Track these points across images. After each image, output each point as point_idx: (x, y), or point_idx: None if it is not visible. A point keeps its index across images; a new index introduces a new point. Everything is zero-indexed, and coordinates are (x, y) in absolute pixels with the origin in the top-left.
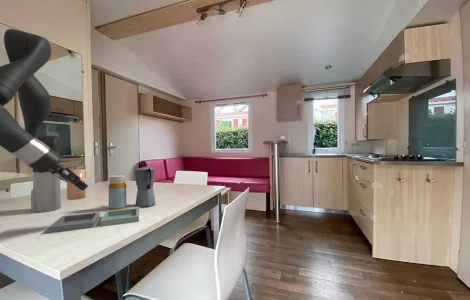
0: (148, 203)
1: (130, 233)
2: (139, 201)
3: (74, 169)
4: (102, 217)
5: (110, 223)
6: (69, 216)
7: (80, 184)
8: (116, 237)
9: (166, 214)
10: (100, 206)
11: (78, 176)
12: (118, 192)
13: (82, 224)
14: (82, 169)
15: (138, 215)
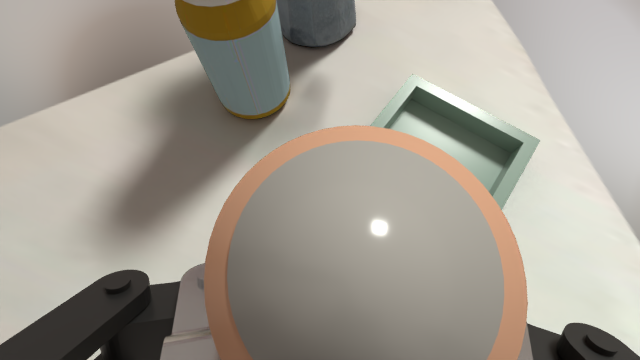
0: (353, 16)
1: (622, 236)
2: (323, 24)
3: (308, 264)
4: None
5: None
6: None
7: None
8: (630, 289)
9: (503, 52)
10: (143, 107)
11: (614, 353)
12: (274, 39)
13: None
14: (435, 178)
15: (527, 134)
